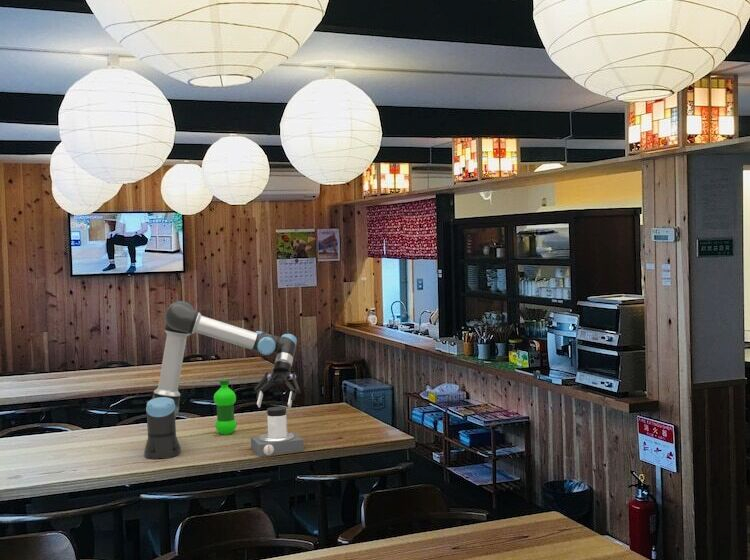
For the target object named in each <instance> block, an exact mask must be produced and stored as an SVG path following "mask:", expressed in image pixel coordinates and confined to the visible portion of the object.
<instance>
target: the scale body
mask: <svg viewBox="0 0 750 560" xmlns="http://www.w3.org/2000/svg"><path fill="white" fill-rule="evenodd" d="M287 433H292V434H294V438H293V439H292V440H289V441H284V442H274V443H271V442H262V441H260V440H259V436H260V435H253V436H252V435H251V436H250V449H251V448H252V449H251V450H252V451H253V450H254V451H253V452H254V453H255V454H256V455H257V456H258V457H261V458H262V457H268V456H275V455H276V456H277V455H284V454H285V455H286V454H292V453H294V454H295V453H301V452H304V439H303V438H302V437H300V436H299V435H298V434H297V433H295V432H294V431H289V432H288V431H287Z"/></svg>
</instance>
